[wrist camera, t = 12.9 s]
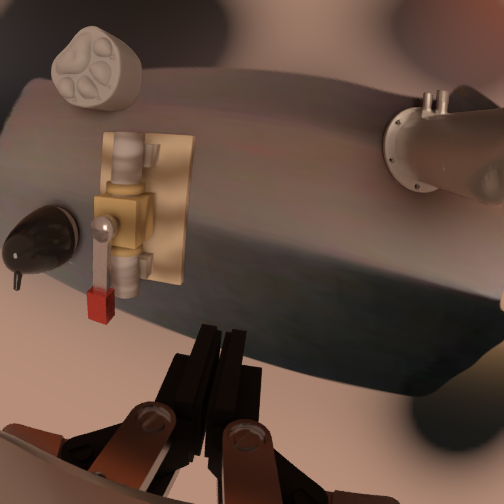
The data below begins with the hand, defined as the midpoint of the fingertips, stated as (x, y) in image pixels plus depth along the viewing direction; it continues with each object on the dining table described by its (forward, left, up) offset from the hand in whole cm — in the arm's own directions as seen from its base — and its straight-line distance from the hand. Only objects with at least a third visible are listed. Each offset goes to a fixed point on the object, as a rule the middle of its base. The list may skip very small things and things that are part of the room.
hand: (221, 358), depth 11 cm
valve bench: (+3, -17, -33) cm, 37 cm away
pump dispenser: (+9, -33, -33) cm, 48 cm away
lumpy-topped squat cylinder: (-17, -25, -33) cm, 45 cm away
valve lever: (+8, -17, -22) cm, 29 cm away
